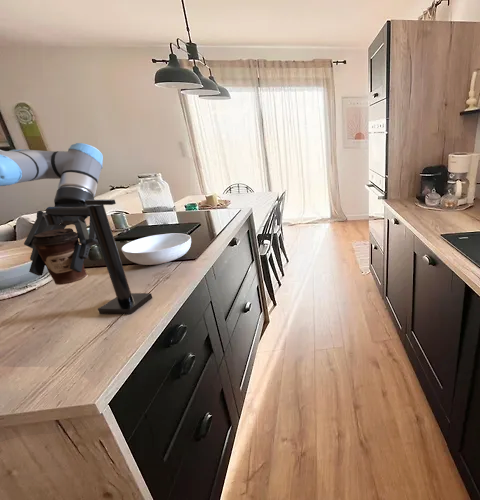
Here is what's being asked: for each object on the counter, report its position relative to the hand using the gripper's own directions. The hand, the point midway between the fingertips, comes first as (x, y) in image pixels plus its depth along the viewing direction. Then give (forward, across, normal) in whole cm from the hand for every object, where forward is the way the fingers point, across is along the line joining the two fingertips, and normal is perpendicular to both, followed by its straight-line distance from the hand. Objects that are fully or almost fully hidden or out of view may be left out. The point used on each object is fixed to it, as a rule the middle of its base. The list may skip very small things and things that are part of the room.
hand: (55, 271), depth 69 cm
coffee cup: (0, 0, -6) cm, 6 cm away
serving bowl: (-15, -10, -30) cm, 35 cm away
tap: (+8, -9, -7) cm, 14 cm away
